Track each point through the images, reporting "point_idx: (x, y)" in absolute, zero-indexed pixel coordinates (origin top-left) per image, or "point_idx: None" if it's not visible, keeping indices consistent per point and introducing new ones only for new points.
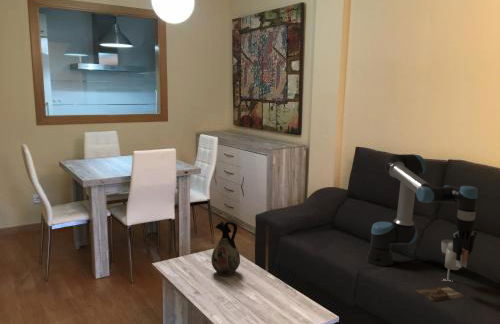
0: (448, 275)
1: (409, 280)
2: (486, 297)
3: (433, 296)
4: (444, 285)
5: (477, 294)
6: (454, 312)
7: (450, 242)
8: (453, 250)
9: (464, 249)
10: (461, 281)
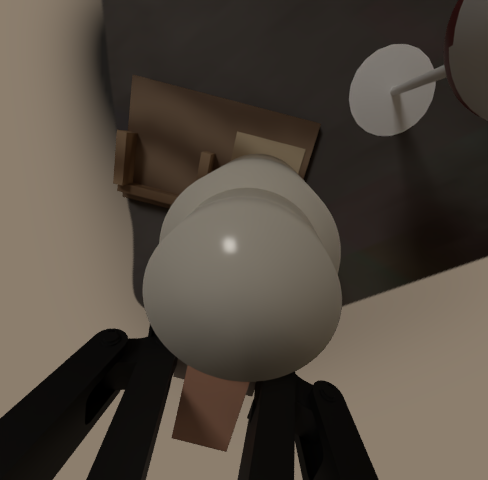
0: (406, 88)
1: None
2: (363, 272)
3: (160, 167)
4: (314, 122)
5: (362, 241)
6: (143, 267)
7: (258, 223)
8: (85, 350)
9: (232, 415)
10: (463, 126)
